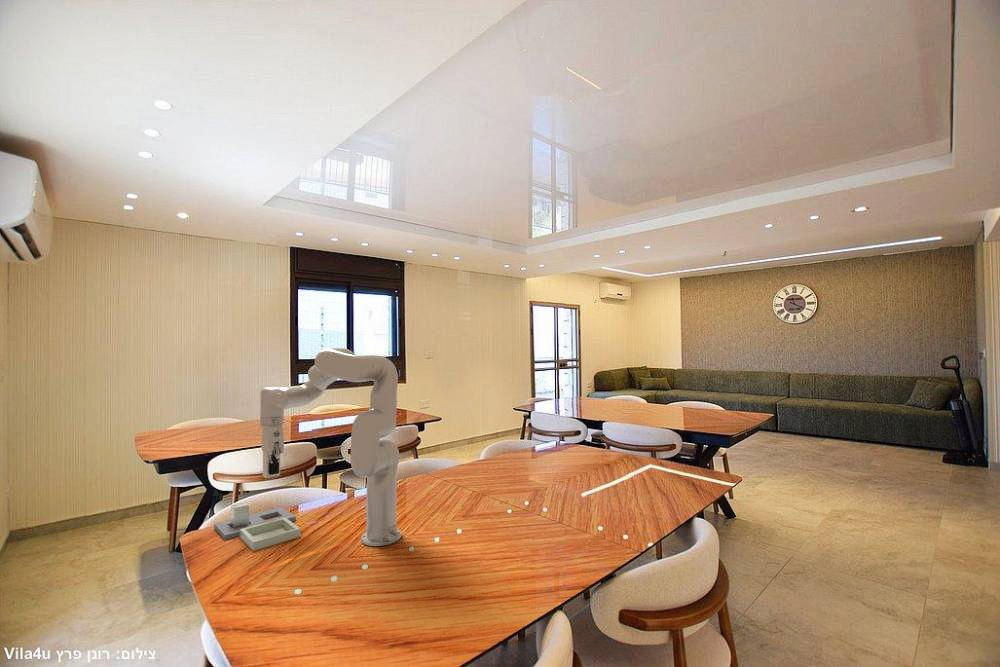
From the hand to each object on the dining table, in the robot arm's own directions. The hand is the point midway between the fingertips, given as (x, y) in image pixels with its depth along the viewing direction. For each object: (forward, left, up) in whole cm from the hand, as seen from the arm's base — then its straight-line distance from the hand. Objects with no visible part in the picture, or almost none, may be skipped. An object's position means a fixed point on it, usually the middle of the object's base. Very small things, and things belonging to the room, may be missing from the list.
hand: (271, 472), depth 157 cm
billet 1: (0, +10, -18) cm, 21 cm away
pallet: (0, +5, -18) cm, 19 cm away
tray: (-15, +5, -18) cm, 24 cm away
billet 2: (0, 0, -1) cm, 1 cm away
